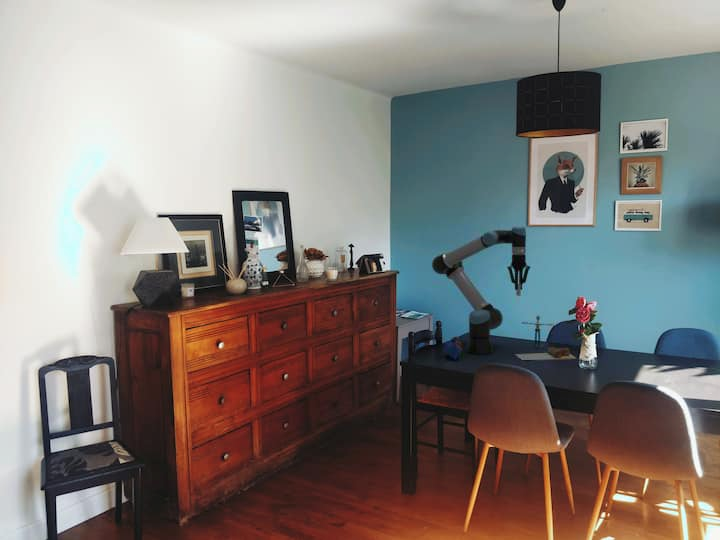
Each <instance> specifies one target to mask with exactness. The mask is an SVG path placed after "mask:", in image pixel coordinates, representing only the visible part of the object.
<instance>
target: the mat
mask: <svg viewBox="0 0 720 540" xmlns="http://www.w3.org/2000/svg"><path fill="white" fill-rule="evenodd" d="M515 355H516V356H517V357H518V359H519V358H520V359H521V360H537V361H555V360H556V361H557V360H559V361H561V360H577V357H575V356H574V355H573V354H571V353H570V355H569V356H561V358H554V357H552V356H551V355H549V354H548V352H543V353H542V352H541V353H540V352H539V353H536V352H535V353H516V354H514V356H515ZM516 356H515V357H516ZM517 357H516V358H517ZM520 359H519V360H520ZM521 360H520V361H521Z"/></svg>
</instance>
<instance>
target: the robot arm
mask: <svg viewBox="0 0 720 540" xmlns="http://www.w3.org/2000/svg"><path fill="white" fill-rule="evenodd" d="M526 231H527V230H526V227H525V226H512V228H511V230H509V229H508V230H506V229H497V230H495V229H494V230H490V231H487V232H485V233H484V234H482V235H481V236H479V237H477V238H475V239H473V240H471V241H470V242H467V243H465V244H463V245H462V246H460V247H457V248H456V249H454V250H451V251H450V252H448V253H447V252H444V253H442V254H440V255H437V256H436V257H434V258H433V260H432V262H431V267H432V270H433V271H434V272H435V273H436V274H438V275H445V276H446V277H447V279H448V280H452V281H453V283H454V284H455V285H456V287H457V288H458V290H459V291H460V292H461V294H462V295H463V297H464V298H465V299H466V301H467V302H468V303H469V304H470V306H471V307H472V309H473V310H472V311H471V312H469V315H468V316H469V317H468V335H469V336H468V341H467V345H466V347H465V350H466V351H467V353H468V352H470V353H469V354H471V353H474V354H473V355H478V354H484V355H490V354H493V353H494V347H493V345H492V342H491V337H490V336H491V331H492V330H495V329H498V328H499V327H500V326H502V324H503V320H504V316H503V314H502V313H503V312H501V310H500V309H498V308H495V307H494V306H493V305H492V303H489V302H487V301H486V299H485V298H484V297H483V296H482V294H481V293H480V291H479V290H478V288H477V287H476V286H475V285H474V283H473V282H472V280H471V279H470V278H469V277H468V275H467V274H466V272H465V266H463V261H464V260H466V259H468V258H470V257H472V256H474V255H476V254H479V253H481V252H482V251H484V250H486V249H488V248H490V247H492V246H495V245H500V244H511V263H510V265H509V266H507V267H506V268H507V270H508V273H509V276H510V281H511V283H512V284H514V290H515V291H516V292H515V293H516V296H517V297H518V296H519V297H521V296H522V295H521V290H523V284H526V282H527V279H528V278H527V277H528V274H529V271H530V270H531V265H527V262H526V260H527V259H526V257H527V256H526V251H527V250H526V249H527V248H526V242H527V239H526V238H527V232H526ZM513 271H514V273H513ZM466 351H465V352H466ZM489 353H490V354H489Z"/></svg>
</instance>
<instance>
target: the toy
mask: <svg viewBox="0 0 720 540" xmlns="http://www.w3.org/2000/svg"><path fill="white" fill-rule="evenodd" d="M459 339H460V338H459V337H458V336H453V337H452V338H451V339H450V340H447V341H446V342H445V343H444V353H445V355H446V356H447V355H449V356H450V358H451V359H453V360H454V359H455V360H456V359H458V357H459V356H460V355H461V353H462V352H463V348H462V345H463V343H462V342H461V341H460V340H459ZM449 356H448V357H449ZM455 360H454V361H455Z"/></svg>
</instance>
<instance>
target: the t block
mask: <svg viewBox="0 0 720 540" xmlns="http://www.w3.org/2000/svg"><path fill="white" fill-rule="evenodd" d="M570 351H571V350H570V349H569V348H566V347H564V348H563V347H562V348H561V347H560V348H556V347H554V346H551V347H550V346H548V347H547V353H548V354H549V355H551V356H552V357H554V358H561V356H569V355H570V354H571V352H570Z"/></svg>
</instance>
